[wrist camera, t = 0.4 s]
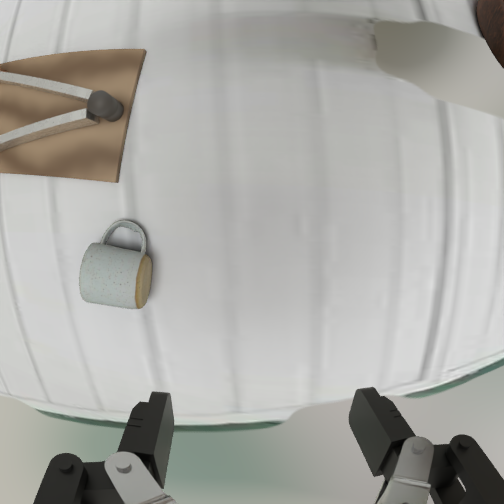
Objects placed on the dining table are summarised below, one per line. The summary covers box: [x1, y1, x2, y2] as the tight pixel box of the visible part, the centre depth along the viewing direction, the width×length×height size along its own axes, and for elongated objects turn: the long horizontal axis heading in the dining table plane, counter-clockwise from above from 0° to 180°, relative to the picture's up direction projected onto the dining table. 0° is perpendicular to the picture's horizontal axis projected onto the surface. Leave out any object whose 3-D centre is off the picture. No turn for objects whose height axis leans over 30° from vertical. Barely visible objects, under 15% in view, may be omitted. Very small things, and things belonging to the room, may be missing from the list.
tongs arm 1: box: [0, 68, 95, 103], centre depth 28 cm, size 24×2×4 cm, turn 67°
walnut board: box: [0, 49, 146, 183], centre depth 29 cm, size 18×32×6 cm, turn 80°
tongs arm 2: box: [0, 108, 99, 151], centre depth 30 cm, size 24×2×4 cm, turn 93°
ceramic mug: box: [79, 220, 152, 309], centre depth 34 cm, size 10×8×7 cm
